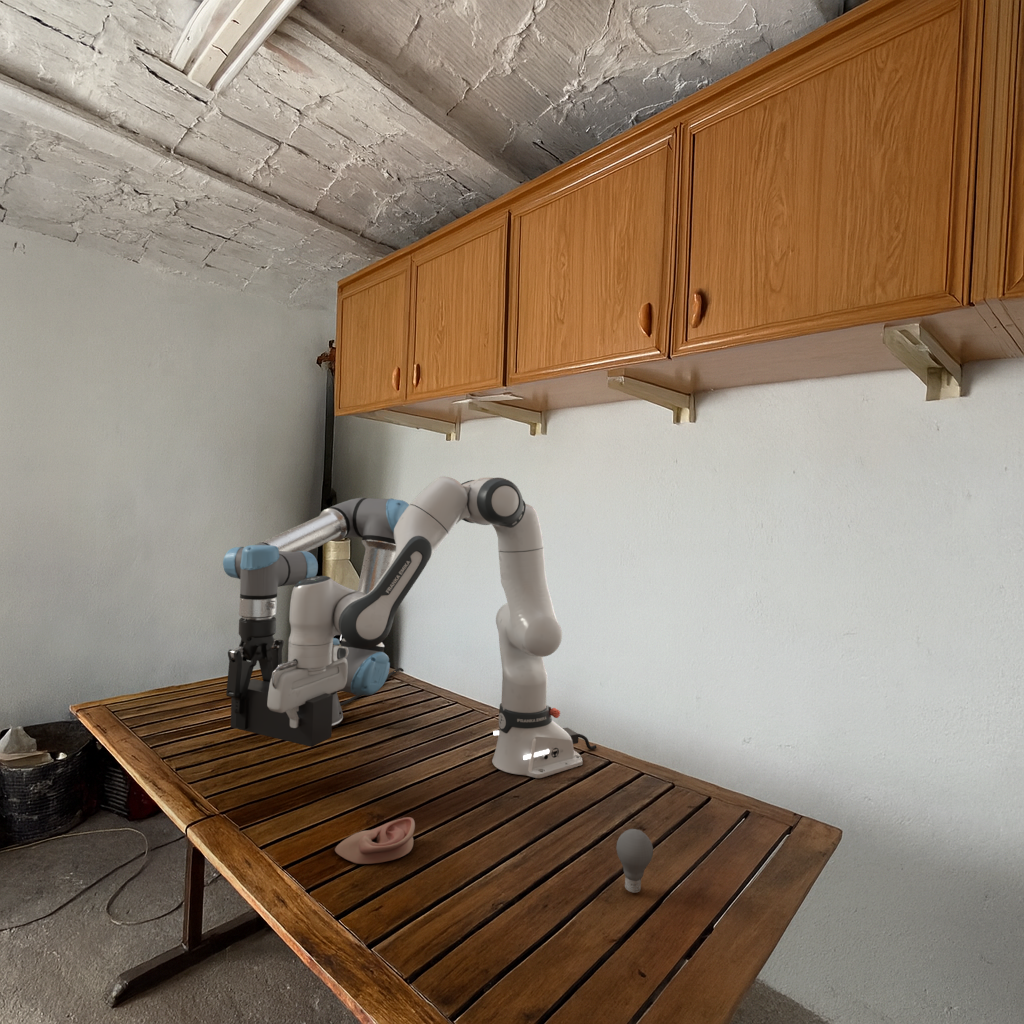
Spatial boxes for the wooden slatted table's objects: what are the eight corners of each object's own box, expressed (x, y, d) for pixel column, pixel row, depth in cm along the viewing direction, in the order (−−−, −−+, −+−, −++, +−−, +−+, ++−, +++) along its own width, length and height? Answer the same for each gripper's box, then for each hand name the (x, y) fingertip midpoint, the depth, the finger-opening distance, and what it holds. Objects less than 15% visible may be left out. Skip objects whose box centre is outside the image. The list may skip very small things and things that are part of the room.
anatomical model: (327, 836, 111) (356, 806, 122) (326, 858, 111) (355, 826, 122) (398, 848, 108) (421, 815, 119) (397, 871, 108) (420, 836, 119)
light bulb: (610, 879, 108) (613, 822, 108) (644, 879, 109) (647, 822, 109) (619, 902, 102) (622, 840, 102) (655, 901, 103) (658, 840, 103)
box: (230, 727, 136) (231, 685, 136) (252, 718, 142) (253, 678, 142) (311, 747, 127) (313, 702, 127) (331, 737, 133) (332, 694, 133)
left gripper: (235, 626, 127) (231, 740, 127) (302, 612, 144) (298, 713, 145) (208, 621, 130) (204, 733, 130) (277, 608, 147) (273, 707, 148)
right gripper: (285, 668, 121) (283, 740, 121) (353, 647, 139) (351, 709, 140) (260, 663, 123) (258, 734, 123) (330, 643, 142) (328, 704, 142)
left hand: (254, 722), depth 138 cm, fingers closed on box, 6 cm apart
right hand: (308, 721), depth 132 cm, fingers closed on box, 6 cm apart
